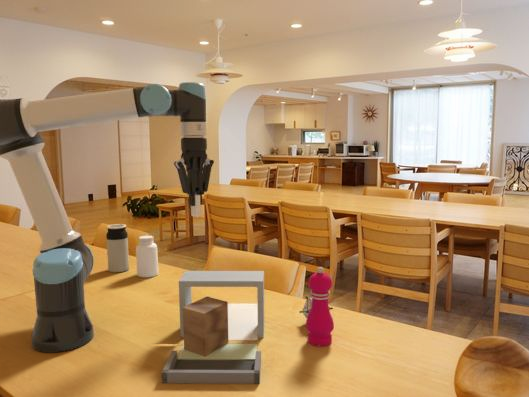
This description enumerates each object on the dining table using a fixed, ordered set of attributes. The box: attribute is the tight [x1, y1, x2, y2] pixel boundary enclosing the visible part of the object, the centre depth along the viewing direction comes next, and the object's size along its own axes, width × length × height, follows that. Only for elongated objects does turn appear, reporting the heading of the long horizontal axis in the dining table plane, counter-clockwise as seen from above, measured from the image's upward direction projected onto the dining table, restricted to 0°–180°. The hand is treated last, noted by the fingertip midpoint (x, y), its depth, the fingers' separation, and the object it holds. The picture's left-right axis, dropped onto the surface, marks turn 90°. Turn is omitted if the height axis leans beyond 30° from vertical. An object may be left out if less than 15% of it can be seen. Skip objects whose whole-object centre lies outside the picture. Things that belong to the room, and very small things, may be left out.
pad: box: [177, 343, 258, 360], centre depth 118 cm, size 12×19×1 cm, turn 89°
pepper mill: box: [305, 266, 335, 347], centre depth 121 cm, size 7×7×20 cm
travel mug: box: [105, 223, 130, 274], centre depth 185 cm, size 8×8×18 cm
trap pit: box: [161, 350, 262, 385], centre depth 107 cm, size 10×21×2 cm, turn 89°
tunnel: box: [178, 270, 265, 341], centre depth 133 cm, size 26×22×16 cm
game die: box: [299, 295, 334, 319], centre depth 133 cm, size 9×8×10 cm
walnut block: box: [183, 296, 229, 357], centre depth 118 cm, size 9×7×11 cm
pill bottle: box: [135, 235, 159, 279], centre depth 178 cm, size 8×8×15 cm
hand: (195, 216), depth 140 cm, fingers closed
